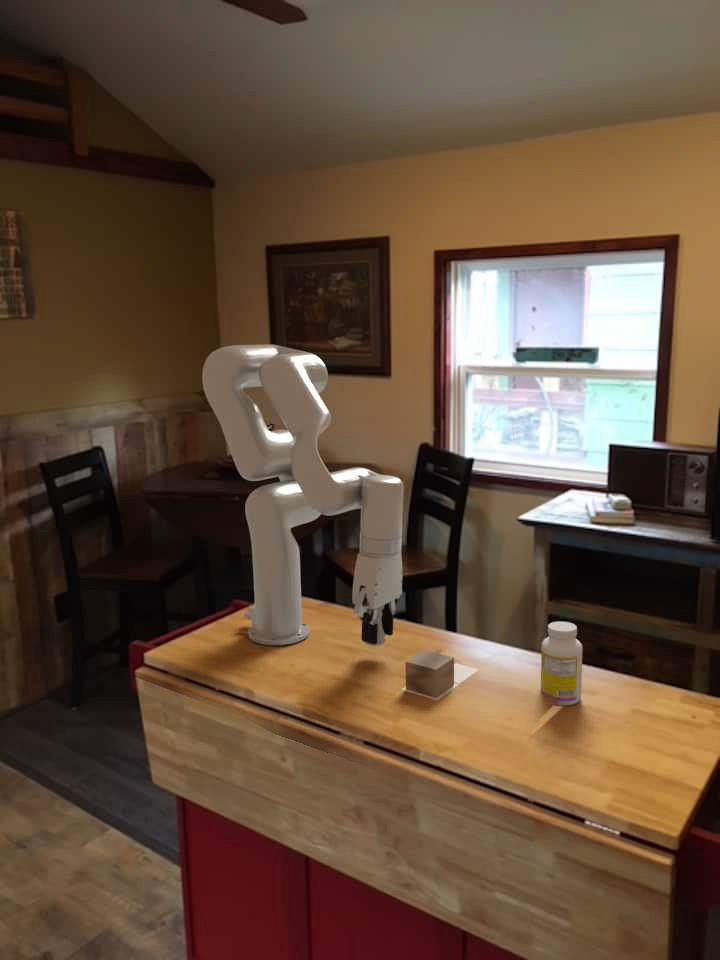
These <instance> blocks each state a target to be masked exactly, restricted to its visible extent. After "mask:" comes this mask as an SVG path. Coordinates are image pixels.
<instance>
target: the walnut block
mask: <svg viewBox="0 0 720 960" xmlns="http://www.w3.org/2000/svg"><path fill="white" fill-rule="evenodd" d="M454 663H455V657H453V656H450V655H446V654H442V653H438V652H435V651H429V650H426V649H423V650H422V651H420V652H419V653H417V654H415V655H414V656H412V657H411V658H409V659H406V660H405V686H406V689H407V690H411V691H414V692H418V693H421V694H424V695H428V696H431V697H435V698H437V697H438V696H439V695H441V694H442V693H444V692H445V691H446V690H448V689H449V688H450V687H452V686H453V685H454Z"/></svg>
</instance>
